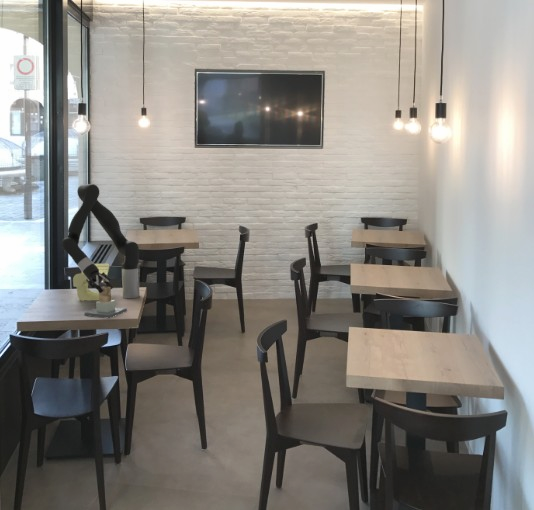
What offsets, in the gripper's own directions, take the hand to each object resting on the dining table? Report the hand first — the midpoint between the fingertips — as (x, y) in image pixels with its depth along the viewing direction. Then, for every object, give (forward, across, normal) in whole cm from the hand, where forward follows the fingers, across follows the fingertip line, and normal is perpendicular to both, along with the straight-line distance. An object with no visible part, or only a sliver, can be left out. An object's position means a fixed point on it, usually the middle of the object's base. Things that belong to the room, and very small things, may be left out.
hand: (106, 290), depth 383 cm
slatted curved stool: (-12, +27, +30) cm, 42 cm away
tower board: (+8, 0, +10) cm, 13 cm away
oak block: (+3, 0, +5) cm, 6 cm away
